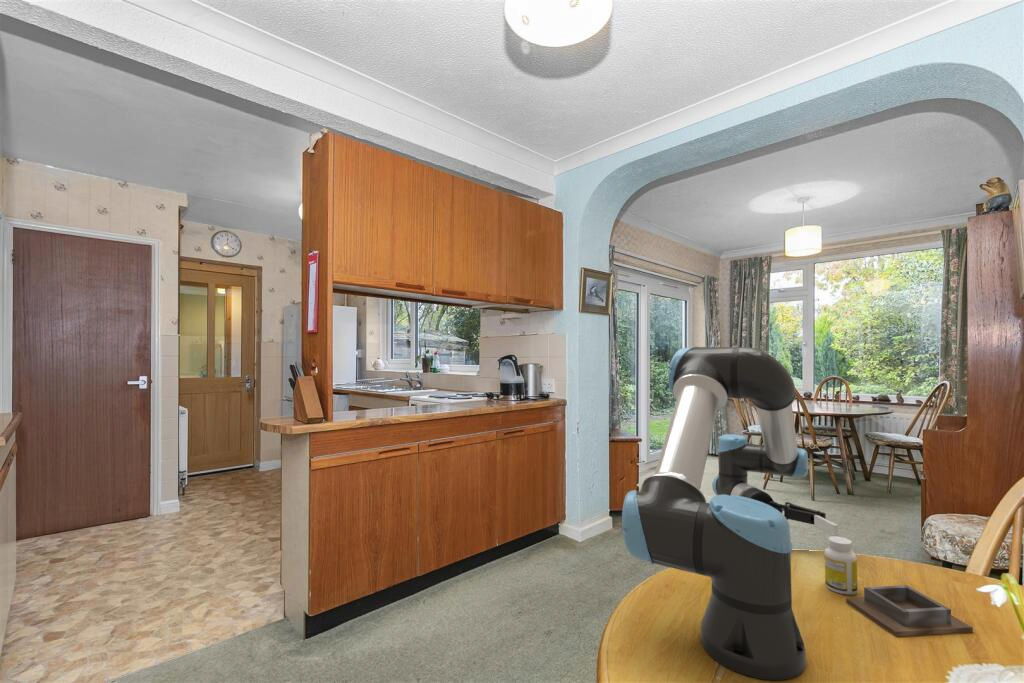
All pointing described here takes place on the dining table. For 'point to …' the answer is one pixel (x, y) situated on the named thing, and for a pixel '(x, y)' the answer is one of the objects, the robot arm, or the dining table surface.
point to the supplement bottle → (840, 566)
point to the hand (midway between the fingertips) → (807, 532)
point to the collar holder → (907, 612)
